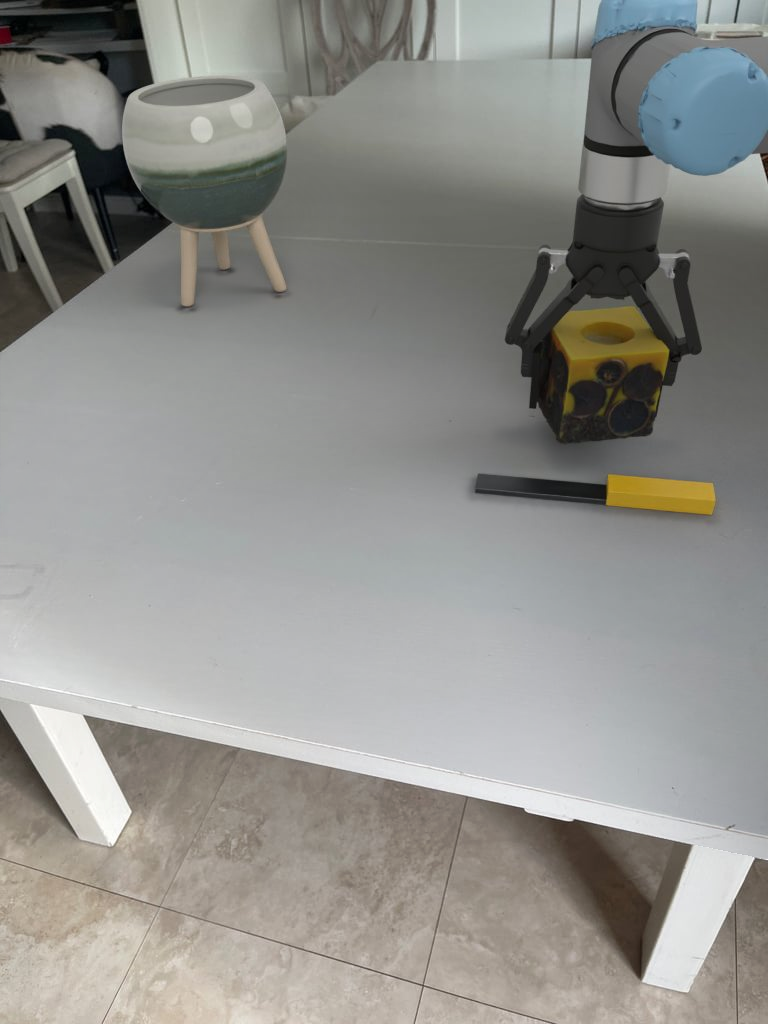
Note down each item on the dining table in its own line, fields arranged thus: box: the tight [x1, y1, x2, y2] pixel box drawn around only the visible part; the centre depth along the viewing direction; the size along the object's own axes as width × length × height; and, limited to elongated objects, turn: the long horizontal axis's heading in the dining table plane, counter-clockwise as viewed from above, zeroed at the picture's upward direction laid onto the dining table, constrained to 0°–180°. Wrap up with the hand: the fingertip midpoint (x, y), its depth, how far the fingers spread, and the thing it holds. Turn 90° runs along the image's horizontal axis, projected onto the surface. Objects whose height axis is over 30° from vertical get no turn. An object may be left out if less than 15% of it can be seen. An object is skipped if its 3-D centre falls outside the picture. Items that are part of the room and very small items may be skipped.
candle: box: [537, 305, 669, 445], centre depth 83 cm, size 10×10×10 cm
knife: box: [474, 473, 717, 516], centre depth 81 cm, size 23×3×2 cm, turn 78°
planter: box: [121, 75, 288, 308], centre depth 116 cm, size 22×22×28 cm
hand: (591, 406), depth 85 cm, fingers closed on candle, 11 cm apart
